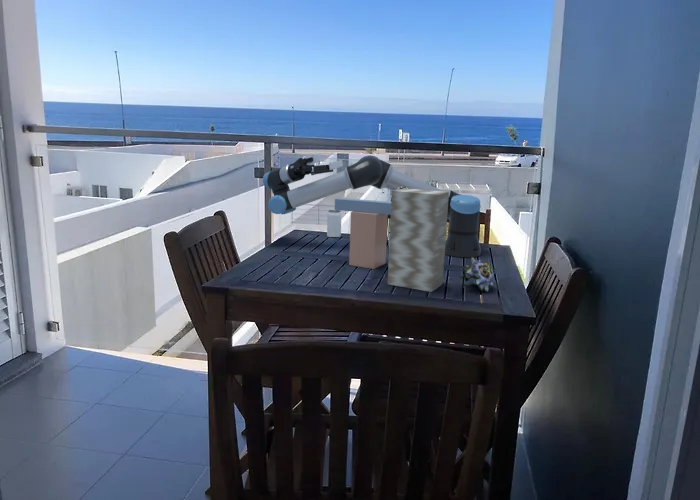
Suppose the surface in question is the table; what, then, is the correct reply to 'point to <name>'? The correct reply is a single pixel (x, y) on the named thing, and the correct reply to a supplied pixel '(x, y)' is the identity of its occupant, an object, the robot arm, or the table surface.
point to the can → (334, 223)
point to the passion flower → (479, 274)
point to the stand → (417, 238)
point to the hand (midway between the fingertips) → (331, 160)
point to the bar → (363, 206)
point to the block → (368, 239)
